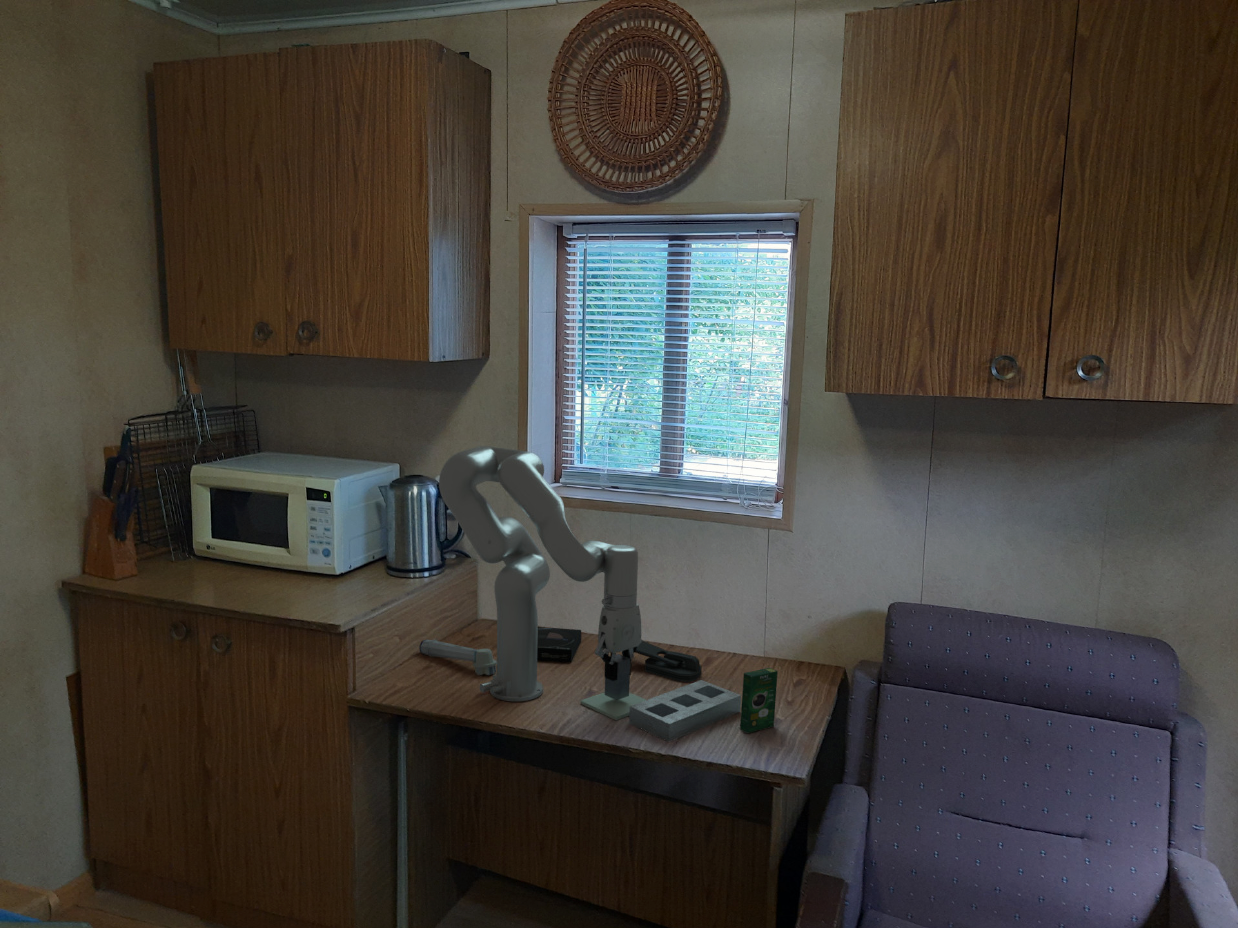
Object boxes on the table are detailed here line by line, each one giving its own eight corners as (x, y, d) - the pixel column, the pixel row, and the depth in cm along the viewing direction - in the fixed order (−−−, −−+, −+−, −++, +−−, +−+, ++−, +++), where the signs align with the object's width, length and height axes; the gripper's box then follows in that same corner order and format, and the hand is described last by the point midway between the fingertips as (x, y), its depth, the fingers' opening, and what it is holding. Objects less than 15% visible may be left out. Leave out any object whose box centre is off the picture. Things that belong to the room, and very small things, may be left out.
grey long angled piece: (431, 636, 243) (499, 644, 228) (433, 661, 244) (502, 670, 229) (416, 641, 239) (484, 650, 224) (418, 666, 239) (487, 676, 225)
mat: (616, 720, 203) (616, 716, 203) (580, 703, 211) (580, 700, 211) (653, 706, 211) (653, 702, 211) (617, 690, 220) (617, 687, 219)
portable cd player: (581, 642, 254) (581, 629, 253) (571, 664, 237) (571, 649, 237) (523, 638, 256) (523, 625, 255) (509, 660, 239) (509, 645, 238)
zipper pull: (621, 630, 244) (707, 648, 232) (620, 654, 245) (706, 673, 233) (604, 639, 236) (692, 658, 224) (603, 664, 237) (691, 684, 225)
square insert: (616, 700, 208) (617, 662, 207) (604, 694, 211) (605, 657, 210) (629, 695, 211) (630, 658, 210) (617, 690, 214) (618, 653, 212)
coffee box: (766, 721, 204) (769, 665, 203) (775, 726, 202) (778, 669, 200) (739, 729, 200) (741, 672, 198) (747, 734, 198) (750, 676, 196)
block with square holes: (668, 741, 193) (669, 723, 192) (629, 723, 201) (629, 706, 201) (740, 711, 209) (740, 695, 209) (700, 695, 218) (701, 679, 217)
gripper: (604, 610, 199) (602, 690, 202) (657, 596, 211) (654, 672, 213) (581, 602, 204) (579, 680, 207) (634, 589, 216) (631, 663, 219)
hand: (617, 675), depth 210 cm, fingers closed on square insert, 4 cm apart
